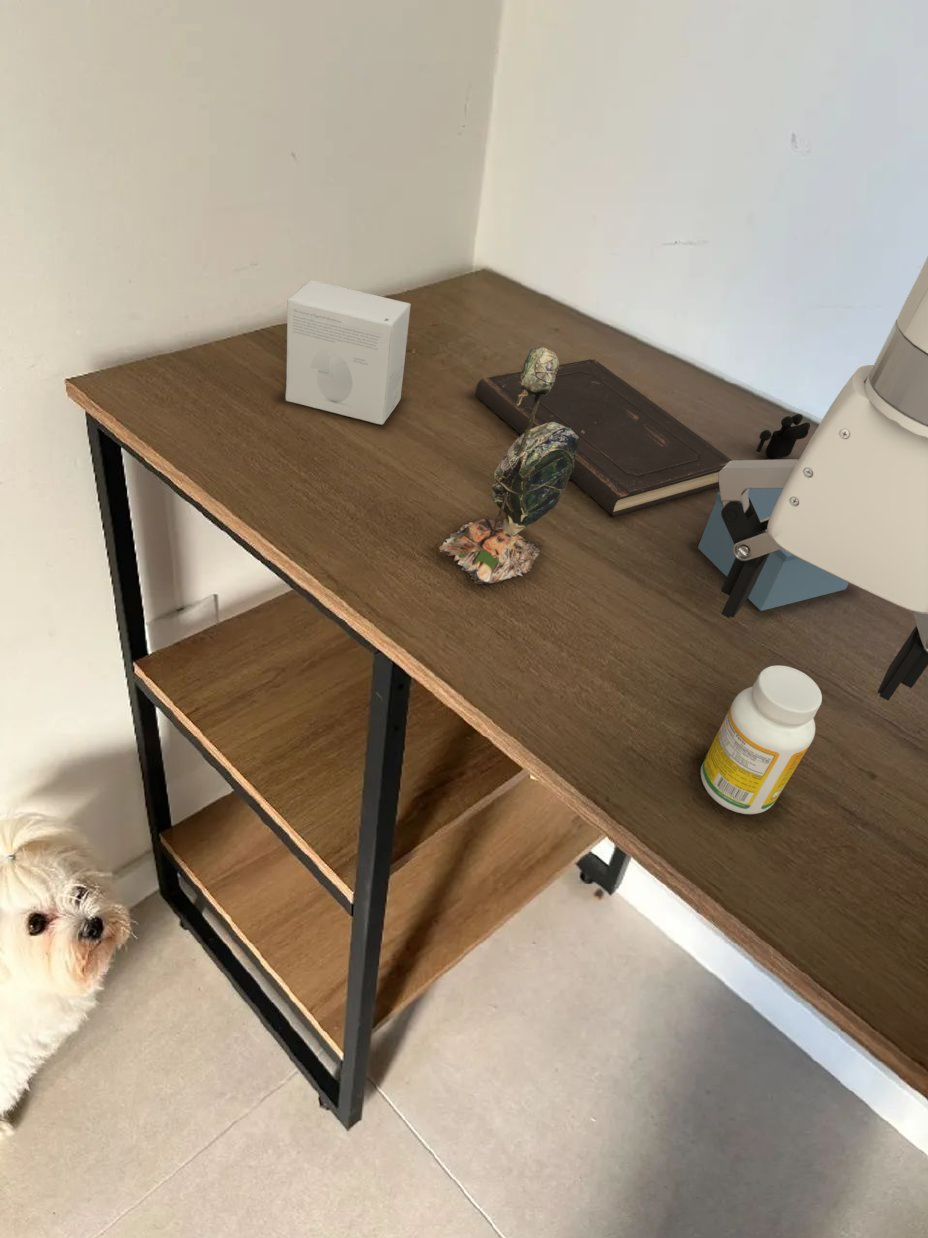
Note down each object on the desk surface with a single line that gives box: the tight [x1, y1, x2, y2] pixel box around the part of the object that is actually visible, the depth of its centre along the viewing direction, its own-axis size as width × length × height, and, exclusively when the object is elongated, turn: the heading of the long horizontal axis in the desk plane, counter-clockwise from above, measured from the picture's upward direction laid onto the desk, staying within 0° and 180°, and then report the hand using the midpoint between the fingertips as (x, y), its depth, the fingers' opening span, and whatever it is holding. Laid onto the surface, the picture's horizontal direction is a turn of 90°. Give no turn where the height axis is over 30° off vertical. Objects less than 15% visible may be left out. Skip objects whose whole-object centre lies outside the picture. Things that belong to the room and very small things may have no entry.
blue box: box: [697, 489, 850, 612], centre depth 81 cm, size 9×10×6 cm
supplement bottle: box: [700, 664, 823, 815], centre depth 60 cm, size 5×5×10 cm
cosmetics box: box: [284, 279, 412, 426], centre depth 91 cm, size 10×6×10 cm, turn 76°
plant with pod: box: [438, 346, 585, 586], centre depth 73 cm, size 8×11×20 cm
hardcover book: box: [475, 358, 733, 517], centre depth 95 cm, size 16×23×2 cm
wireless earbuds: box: [756, 413, 811, 460], centre depth 97 cm, size 7×2×5 cm, turn 119°
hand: (809, 644), depth 55 cm, fingers open, 9 cm apart
